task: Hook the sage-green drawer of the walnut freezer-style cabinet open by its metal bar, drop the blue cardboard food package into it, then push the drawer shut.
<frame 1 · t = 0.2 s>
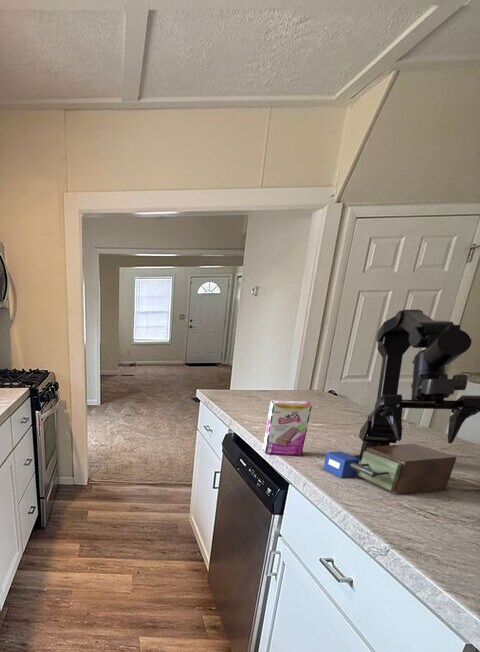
hand: (424, 441, 89), 15 cm above the countertop, tool tilted 30°, fingers open, 9 cm apart
package: (339, 472, 112), on the countertop
drawer: (391, 468, 103), point 4 cm above the countertop, slide at 0.0 cm
cabinet: (400, 482, 105), on the countertop
candy bar box: (281, 453, 129), on the countertop
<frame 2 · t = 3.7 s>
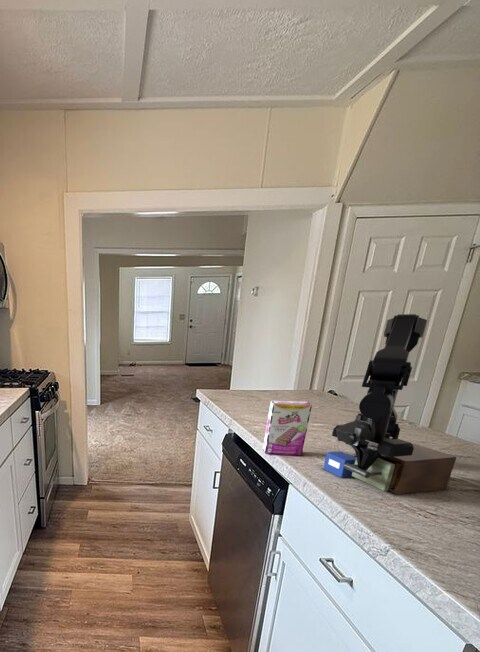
hand: (361, 472, 101), 4 cm above the countertop, tool pointing down, fingers closed, pressing on drawer
drawer: (385, 469, 102), point 4 cm above the countertop, slide at 1.9 cm, touching gripper
everything else where it was.
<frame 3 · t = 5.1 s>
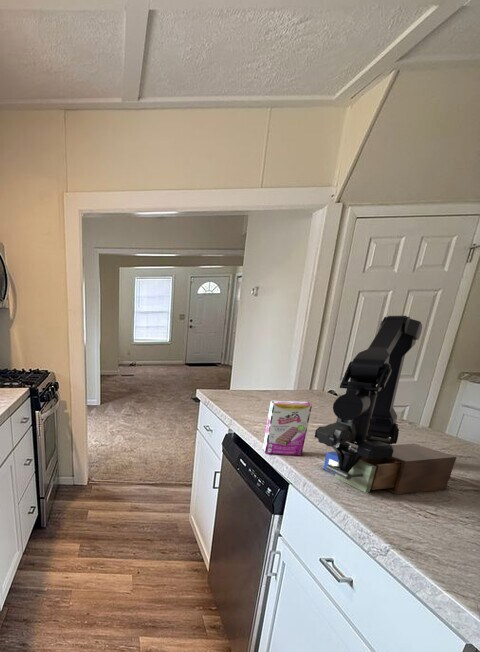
hand: (343, 474, 100), 4 cm above the countertop, tool pointing down, fingers closed
drawer: (367, 471, 101), point 4 cm above the countertop, slide at 7.1 cm
everything else where it was.
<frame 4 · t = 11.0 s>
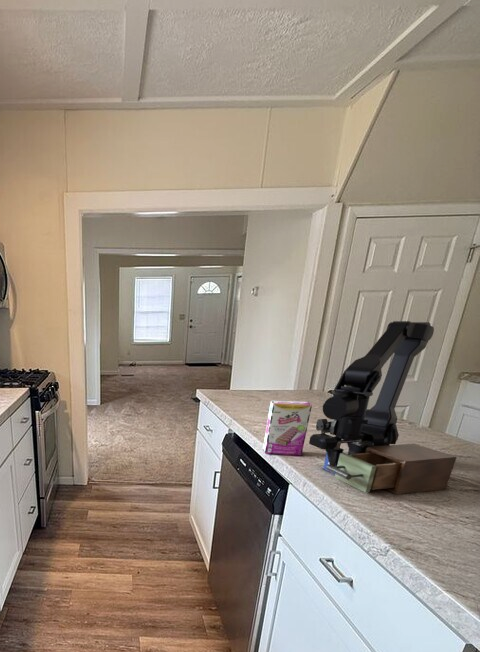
hand: (339, 469, 112), 1 cm above the countertop, tool pointing down, fingers closed on package, 4 cm apart
package: (339, 472, 112), on the countertop, touching gripper
everything else where it was.
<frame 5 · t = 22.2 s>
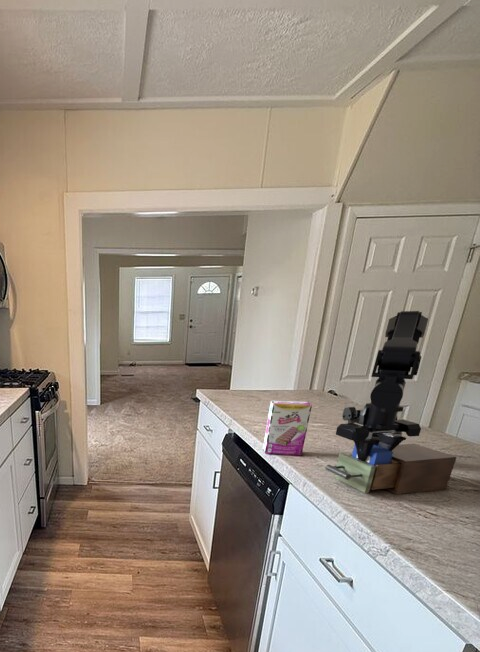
hand: (369, 463, 101), 6 cm above the countertop, tool pointing down, fingers closed on package, 4 cm apart
package: (368, 466, 101), point 5 cm above the countertop, touching gripper
everything else where it was.
when the fingers open (9 cm above the countertop, at t = 28.0 s): package drops 6 cm, resting on drawer.
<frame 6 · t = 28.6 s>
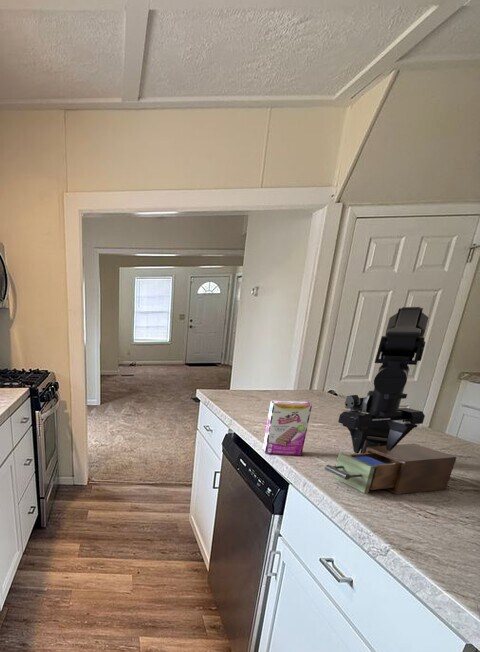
hand: (372, 451, 99), 9 cm above the countertop, tool pointing down, fingers open, 9 cm apart
package: (365, 479, 102), point 2 cm above the countertop, touching drawer
drawer: (366, 471, 101), point 4 cm above the countertop, slide at 7.4 cm, touching package
everything else where it was.
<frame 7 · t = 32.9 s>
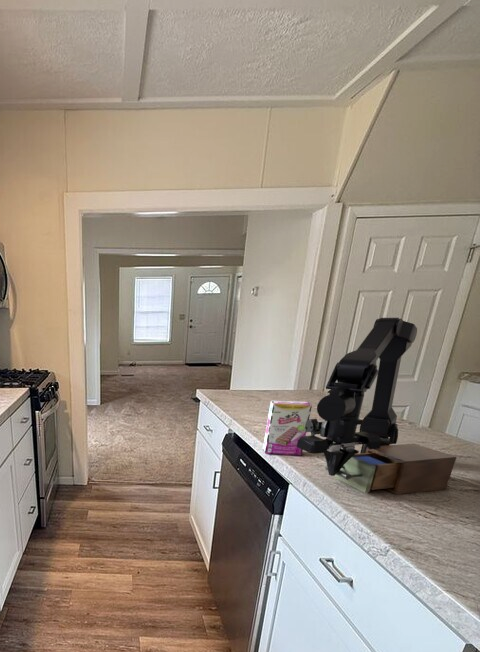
hand: (331, 475, 100), 4 cm above the countertop, tool pointing down, fingers closed
drawer: (366, 471, 101), point 4 cm above the countertop, slide at 7.2 cm, touching gripper, package
everything else where it was.
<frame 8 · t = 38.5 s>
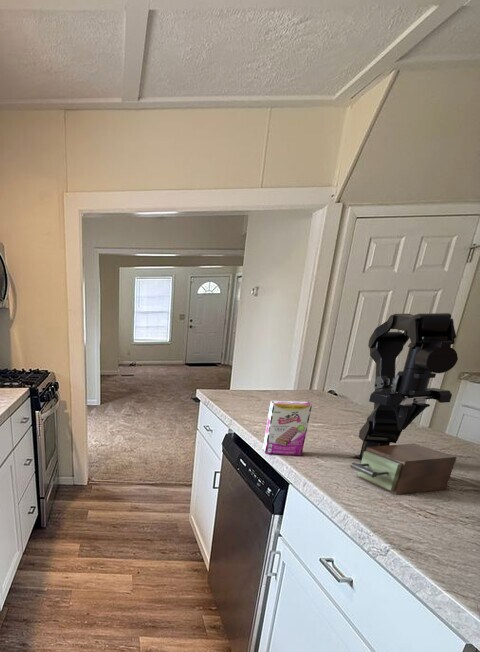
hand: (400, 429, 105), 13 cm above the countertop, tool pointing down, fingers closed
package: (390, 477, 103), point 2 cm above the countertop, touching drawer
drawer: (391, 468, 103), point 4 cm above the countertop, slide at 0.0 cm, touching package
everything else where it was.
at the end: drawer pulled out 7.4 cm at the most during the clip, back to where it started at the end; package inside the target area in the cabinet (3.5 cm from its centre), point 2.0 cm above the cabinet's base; drawer slide at 0.0 cm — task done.
